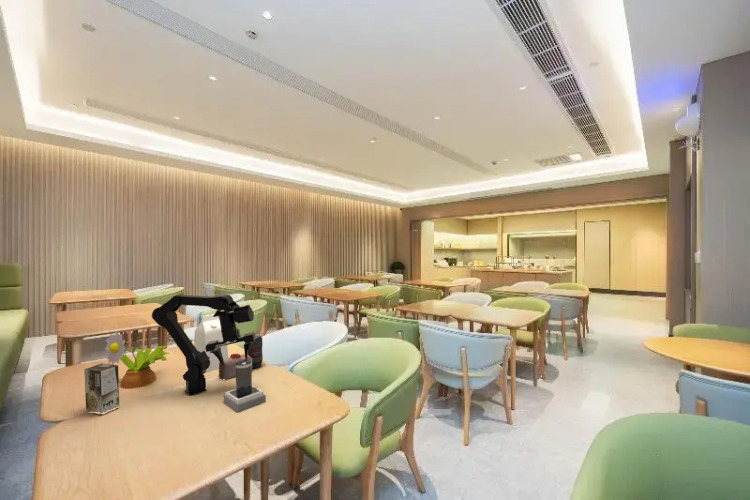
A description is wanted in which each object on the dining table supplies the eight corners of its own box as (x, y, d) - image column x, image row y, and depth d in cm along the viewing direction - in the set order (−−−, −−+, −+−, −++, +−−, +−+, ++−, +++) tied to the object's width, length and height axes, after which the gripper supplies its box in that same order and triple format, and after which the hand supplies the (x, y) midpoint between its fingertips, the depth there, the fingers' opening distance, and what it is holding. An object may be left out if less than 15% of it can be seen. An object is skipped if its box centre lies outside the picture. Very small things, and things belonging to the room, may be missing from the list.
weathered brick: (245, 368, 167) (244, 348, 167) (253, 372, 162) (253, 351, 161) (217, 377, 156) (216, 355, 156) (225, 381, 151) (225, 359, 151)
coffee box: (120, 407, 128) (119, 365, 127) (101, 416, 122) (100, 371, 121) (103, 404, 131) (102, 362, 130) (84, 412, 125) (83, 368, 124)
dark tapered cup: (236, 400, 127) (235, 365, 127) (236, 393, 132) (235, 360, 132) (252, 397, 129) (251, 363, 129) (252, 391, 134) (251, 358, 134)
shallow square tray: (237, 412, 123) (237, 400, 122) (223, 402, 131) (223, 391, 131) (265, 401, 131) (265, 390, 131) (250, 392, 139) (250, 382, 139)
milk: (216, 361, 178) (215, 311, 178) (228, 365, 171) (227, 314, 171) (193, 368, 168) (191, 315, 168) (205, 373, 162) (203, 318, 161)
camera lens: (265, 364, 172) (265, 334, 172) (258, 370, 164) (257, 339, 164) (250, 364, 173) (249, 334, 173) (242, 369, 165) (241, 339, 165)
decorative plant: (93, 388, 146) (91, 330, 146) (149, 368, 168) (147, 318, 168) (135, 397, 136) (133, 335, 136) (188, 375, 158) (187, 322, 158)
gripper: (254, 316, 151) (260, 351, 151) (209, 326, 147) (216, 361, 147) (250, 321, 140) (257, 358, 140) (201, 331, 136) (209, 370, 136)
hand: (235, 362), depth 141 cm, fingers open, 9 cm apart
